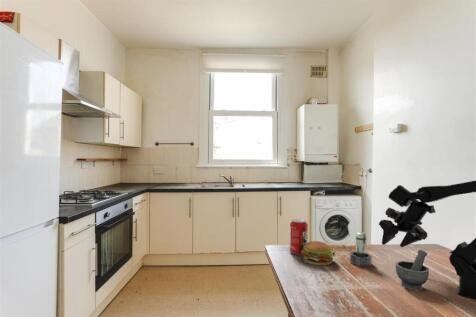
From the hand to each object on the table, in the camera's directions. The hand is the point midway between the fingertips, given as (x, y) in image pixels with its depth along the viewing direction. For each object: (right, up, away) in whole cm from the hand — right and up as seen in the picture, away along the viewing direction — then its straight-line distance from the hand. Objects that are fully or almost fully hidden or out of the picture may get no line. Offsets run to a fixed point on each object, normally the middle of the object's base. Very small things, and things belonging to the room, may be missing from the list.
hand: (391, 245), depth 109 cm
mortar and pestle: (-2, -9, -16) cm, 18 cm away
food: (-28, -9, +6) cm, 30 cm away
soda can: (-34, -9, +16) cm, 38 cm away
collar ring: (-10, -9, +5) cm, 14 cm away
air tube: (-10, -9, +5) cm, 14 cm away
